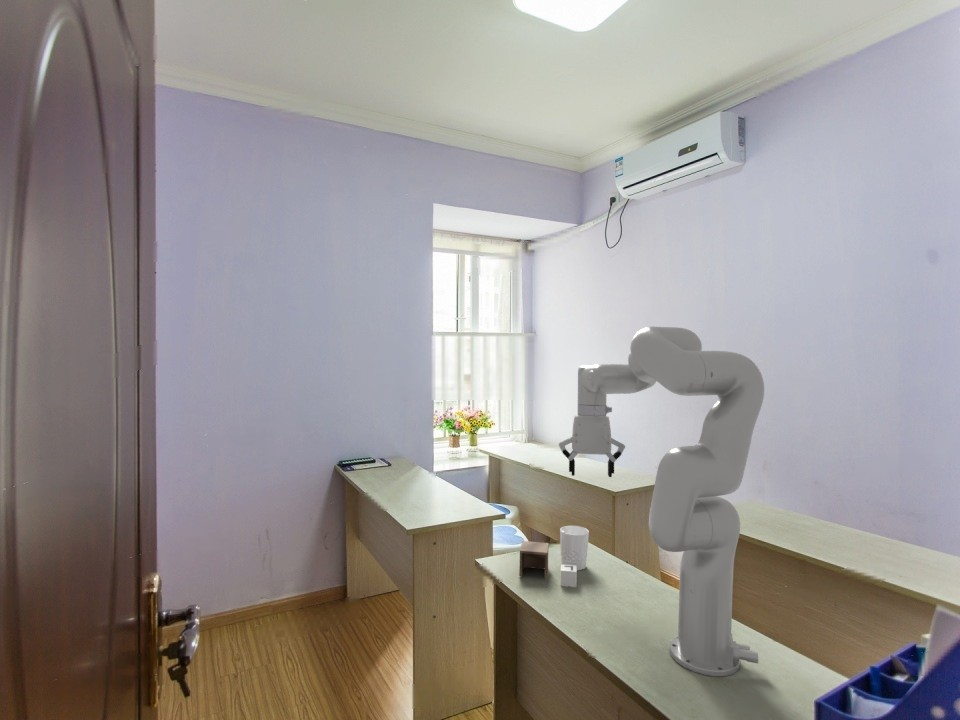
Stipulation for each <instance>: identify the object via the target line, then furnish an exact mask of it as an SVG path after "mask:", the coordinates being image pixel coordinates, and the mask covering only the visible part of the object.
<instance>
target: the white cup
mask: <svg viewBox="0 0 960 720" xmlns="http://www.w3.org/2000/svg"><path fill="white" fill-rule="evenodd" d="M589 533H590V531H589V529H587V528H586V527H583V526H580V525H564V526H562V527H560V528H559V537H560V538H559V539H560V544H559V545H560V558H561V559H560V562H561V564H563V565H575V566H577V571H582V569H583V570H585V569H586V567H587V559H588V558H587V557H588V550H589V536H590V534H589ZM561 564H560V565H561Z"/></svg>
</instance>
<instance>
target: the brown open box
mask: <svg viewBox="0 0 960 720" xmlns="http://www.w3.org/2000/svg"><path fill="white" fill-rule="evenodd" d="M527 567H534V568H533V569H539V568H545V569H544V580H548V574H547V573H549V572H548V570H549V542H541V541H527V540H522V542H521V545H520V548H519V572H518V573H519V575H518V576H522V577H523V573H522V572H524V569H523V568H527Z"/></svg>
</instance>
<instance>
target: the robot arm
mask: <svg viewBox="0 0 960 720" xmlns="http://www.w3.org/2000/svg"><path fill="white" fill-rule="evenodd" d="M629 349H630V352H629V355H628V356H627V357H628V358H627V359H628V360H627V362H628V364H622V363H619V364H617V363H616V364H615V363H609V364H608V363H607V364H605V363H603V364H601V363H600V364H584V365H580V366H579V367H578V370H577V415H574V417H573V423H572V432H571V433H572V435H571V436H570V437H568V438H566V439H565V440H562V441H560V442H559V443H558V446H559V448H560V450H561V453H562V454H563V455H564V456H565V457H566V458H567V459H568V472H569V473H571V476H573V477H574V476H575V475H576V473H575V472H576V471H575V468H576V467H575V466H576V462H575V458H576V456H578V455H579V454H580V455H599V456H600V455H601V456H602V455H604V456H606V457H607V458H608V461H607V476H608V477H609V478H612V476H613V475H614V474H615V462H616V461H617V460H618V459H619V458H620V457H621V456H622V454H623V452H624V450H625V449H626V445H625V444H624V443H622V442H619V441H618V440H616V439H614V438H613V437H612V430H611V421H610V416H607V414H609V413H613V407H610V406H608V404H607V395H611V394H612V395H614V394H615V395H619V394H621V395H622V394H624V395H625V394H626V395H627V394H628V395H629V394H635V393H640V392H641V391H645V390H647V389H650V388H652V387H653V386H654V385H655V384H656V382H657V383H658V384H660V385H661V386H662V387H664V388H665V389H667V391H669V392H671V393H673V394H676V395H678V396H686V397H688V396H689V397H693V396H695V397H697V396H699V397H701V396H717V398H718V399H717V400H716V402H715V403H714V404H713V405H712V407H711V408H710V409H709V410H708V412H707V414H706V416H705V418H704V421H703V423H702V427H701V428H702V429H701V433H700V437H699V440H698V443H696V444H695V445H686V446H685V445H684V446H677V447H674V448H672V449H670V450H668V451H667V452H666V453H665V454H664V455H663V456H662V458H661V459H660V462H659V464H658V466H657V470H656V476H655V480H654V488H653V493H652V497H651V503H650V508H649V514H648V515H649V516H648V528H649V533H650V535H651V539H652V540H653V542H654V543H655V545H656V546H657V547H659V548H660V549H662V550H663V551H666V552H670V553H680V552H681V553H682V556H681V558H680V559H681V560H680V564H679V565H680V566H679V567H680V568H679V589H678V591H679V593H678V631H677V636H676V637H675V638H673V639H672V640H671V641H670V642H669V654H670V656H671V657H672V658H673V659H674V661H676V662H677V663H678V664H679V665H681V666H682V667H684V668H686V669H687V670H690V671H692V672H694V673H698V674H701V675H705V676H710V677H726V676H731V675H734V674H735V673H736V672H738V670H739V669H740V663H741V662H740V660H741V661H747V663H753V664H759V652H757V651H753V650H751V646H750V645H748V644H742V643H741V644H740V643H737V641H734V638H733V637H734V636H733V633H732V624H733V622H732V616H733V614H732V613H733V590H734V588H733V584H734V583H733V582H734V566H735V565H734V563H735V558H736V557H735V555H736V551H737V550H736V549H737V546H738V543H739V542H738V541H739V538H740V533H741V520H740V515H739V514H738V513H739V512H738V511H737V509H736V507H735V506H734V505H733V504H732V503H731V502H729V501H728V500H727V499H725V498H723V497H721V496H727V495H730V494H732V493H735V492H736V491H737V490H738V489H739V488H740V486H741V483H742V481H743V478H744V474H745V469H746V465H747V461H748V457H749V451H750V448H751V444H752V437H753V434H754V429H755V427H756V423H757V420H758V416H759V415H760V411H761V409H762V406H763V403H764V398H765V381H764V379H763V375H762V373H761V371H760V369H759V368H758V367H759V366H757V365H756V363H755V362H754V361H753V360H752V359H751V358H749V357H747V356H746V355H743V354H741V353H737V352H733V351H724V350H702V349H703V347H702V342H701V339H700V337H699V336H698V335H697V334H696V333H695V332H694V331H693V330H690V329H687V328H684V327H676V326H675V327H672V326H645V327H643V328H642V329H640V330H638V331H637V332H636V333H635V335H634V336H633V338H632V340H631V342H630V348H629ZM569 444H571V448H572V450H571V452H569V451H568V449H566V446H567V445H568V446H569ZM612 445H614V446H615V447H617V450H616V451H615V452H614V453H613V454H612Z"/></svg>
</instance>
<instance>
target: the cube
mask: <svg viewBox="0 0 960 720" xmlns="http://www.w3.org/2000/svg"><path fill="white" fill-rule="evenodd" d="M577 571H578V570H577V566H575V565H563V564H560V585H562V586H561V587H568V586H571V587H570V588H577V583H578V582H577V579H578V578H577V577H578V576H577V575H578V572H577Z"/></svg>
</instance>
